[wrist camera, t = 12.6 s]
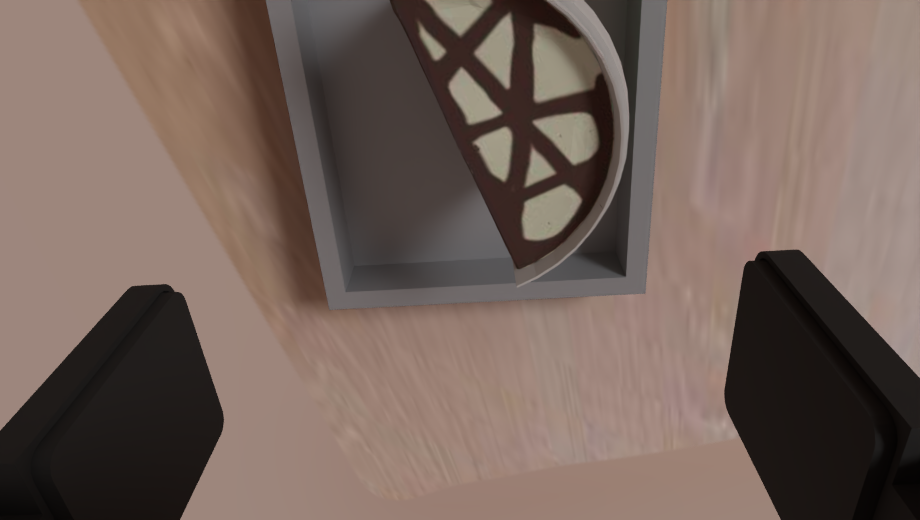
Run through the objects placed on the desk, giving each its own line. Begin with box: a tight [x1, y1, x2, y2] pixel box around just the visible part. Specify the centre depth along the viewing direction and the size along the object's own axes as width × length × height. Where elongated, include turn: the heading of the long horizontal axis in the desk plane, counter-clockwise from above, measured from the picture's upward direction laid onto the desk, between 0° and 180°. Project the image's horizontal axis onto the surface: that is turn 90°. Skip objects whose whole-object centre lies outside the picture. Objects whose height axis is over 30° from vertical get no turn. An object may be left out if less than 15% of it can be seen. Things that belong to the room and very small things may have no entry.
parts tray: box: [266, 0, 667, 310], centre depth 29 cm, size 16×22×4 cm
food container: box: [390, 0, 629, 288], centre depth 25 cm, size 12×6×10 cm, turn 24°
